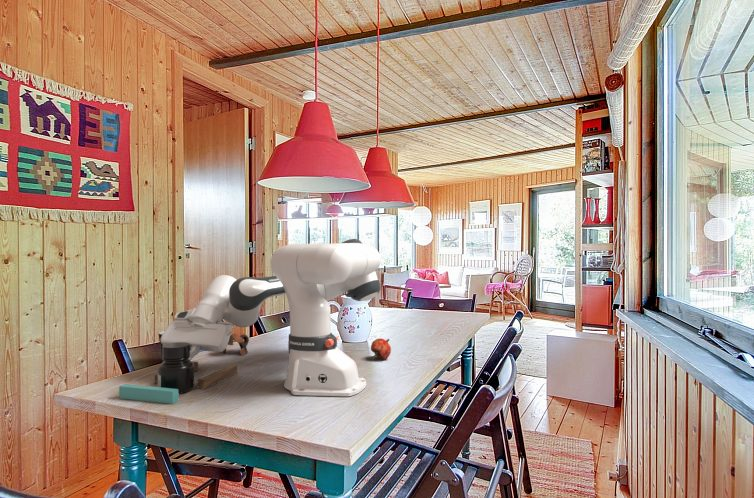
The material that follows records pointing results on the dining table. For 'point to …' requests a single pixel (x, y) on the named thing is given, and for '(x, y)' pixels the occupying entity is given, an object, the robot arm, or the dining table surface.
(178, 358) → the ink bottle
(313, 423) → the dining table surface
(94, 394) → the dining table surface
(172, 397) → the bar
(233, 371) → the lane
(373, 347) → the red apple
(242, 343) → the brown animal figurine
